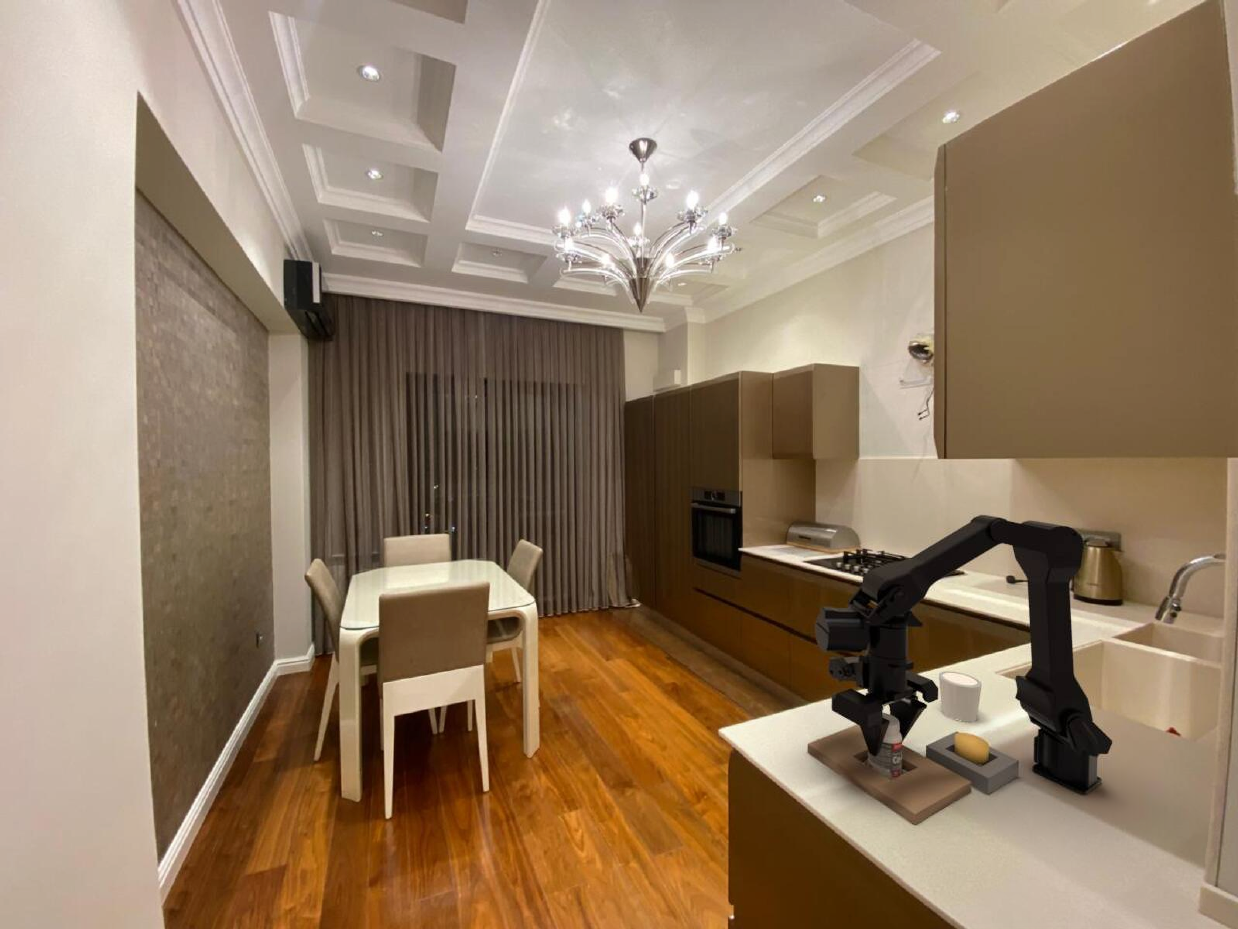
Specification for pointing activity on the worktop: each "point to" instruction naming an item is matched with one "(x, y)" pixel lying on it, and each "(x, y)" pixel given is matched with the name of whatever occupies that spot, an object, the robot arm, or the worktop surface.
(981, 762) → the button
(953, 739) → the button collar
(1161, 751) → the worktop surface
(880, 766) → the pill bottle
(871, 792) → the brown wooden rectangular frame
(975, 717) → the white cup
